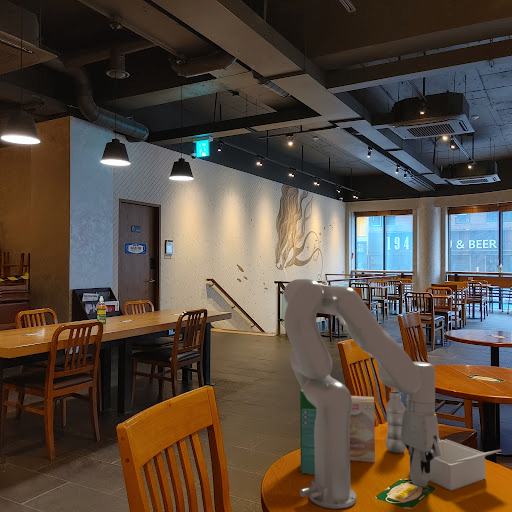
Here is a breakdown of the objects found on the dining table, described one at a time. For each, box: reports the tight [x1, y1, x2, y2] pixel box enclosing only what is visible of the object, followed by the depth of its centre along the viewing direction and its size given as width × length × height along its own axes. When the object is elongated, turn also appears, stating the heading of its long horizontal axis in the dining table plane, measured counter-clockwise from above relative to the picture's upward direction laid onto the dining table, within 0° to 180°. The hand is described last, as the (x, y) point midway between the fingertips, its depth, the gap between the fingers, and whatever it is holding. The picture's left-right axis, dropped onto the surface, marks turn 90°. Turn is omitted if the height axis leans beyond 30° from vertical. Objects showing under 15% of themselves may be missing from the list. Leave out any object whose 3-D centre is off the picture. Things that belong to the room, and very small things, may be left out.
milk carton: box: [299, 388, 317, 475], centre depth 148 cm, size 9×9×25 cm
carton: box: [427, 438, 486, 492], centre depth 142 cm, size 16×16×7 cm
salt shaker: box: [408, 448, 431, 487], centre depth 134 cm, size 6×6×13 cm
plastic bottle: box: [385, 390, 407, 454], centre depth 162 cm, size 6×7×20 cm
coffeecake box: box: [350, 395, 376, 463], centre depth 157 cm, size 15×7×20 cm, turn 77°
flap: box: [453, 449, 502, 463], centre depth 133 cm, size 13×6×1 cm, turn 119°
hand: (420, 471), depth 134 cm, fingers closed on salt shaker, 3 cm apart
